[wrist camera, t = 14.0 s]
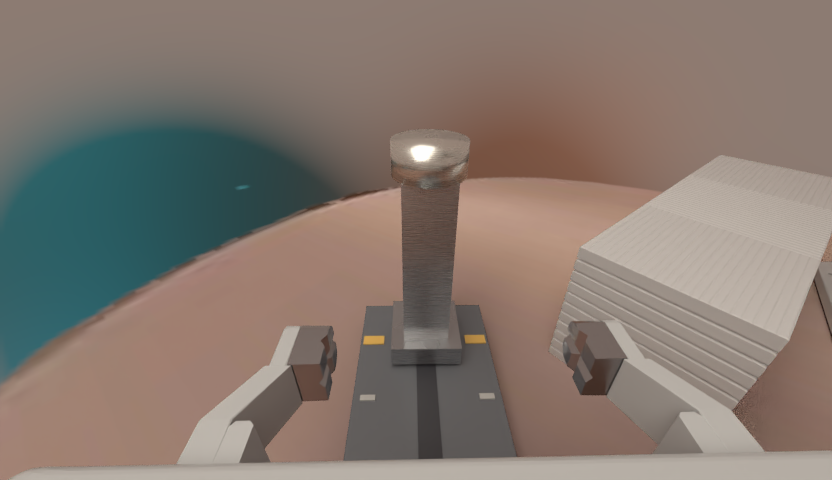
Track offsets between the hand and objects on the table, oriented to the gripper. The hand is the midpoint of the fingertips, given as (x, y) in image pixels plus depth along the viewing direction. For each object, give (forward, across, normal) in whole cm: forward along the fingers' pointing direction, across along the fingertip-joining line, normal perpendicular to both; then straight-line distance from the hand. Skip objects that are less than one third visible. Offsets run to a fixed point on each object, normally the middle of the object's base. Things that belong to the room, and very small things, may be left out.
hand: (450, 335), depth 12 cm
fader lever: (+11, 0, +12) cm, 16 cm away
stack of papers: (+17, -26, +15) cm, 34 cm away
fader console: (+6, 0, +14) cm, 15 cm away
